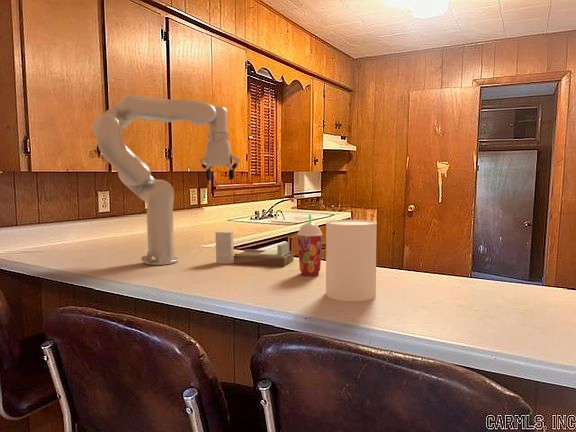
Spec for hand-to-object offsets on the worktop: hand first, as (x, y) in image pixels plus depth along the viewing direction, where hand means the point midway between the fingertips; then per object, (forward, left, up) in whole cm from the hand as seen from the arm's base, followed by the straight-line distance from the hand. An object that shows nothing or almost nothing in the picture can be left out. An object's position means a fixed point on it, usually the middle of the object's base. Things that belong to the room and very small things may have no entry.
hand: (220, 179), depth 176 cm
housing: (-9, -22, -31) cm, 40 cm away
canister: (-45, -61, -32) cm, 83 cm away
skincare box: (-14, -8, -32) cm, 36 cm away
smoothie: (-24, -44, -32) cm, 60 cm away
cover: (-10, -27, -28) cm, 40 cm away
